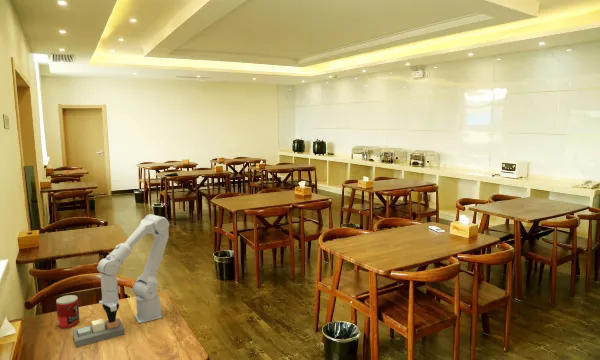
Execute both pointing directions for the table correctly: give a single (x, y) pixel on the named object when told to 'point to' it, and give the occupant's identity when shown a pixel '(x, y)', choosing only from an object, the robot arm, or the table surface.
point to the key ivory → (98, 325)
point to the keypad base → (98, 334)
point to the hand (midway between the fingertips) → (111, 321)
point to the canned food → (67, 311)
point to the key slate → (84, 331)
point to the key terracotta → (112, 324)
